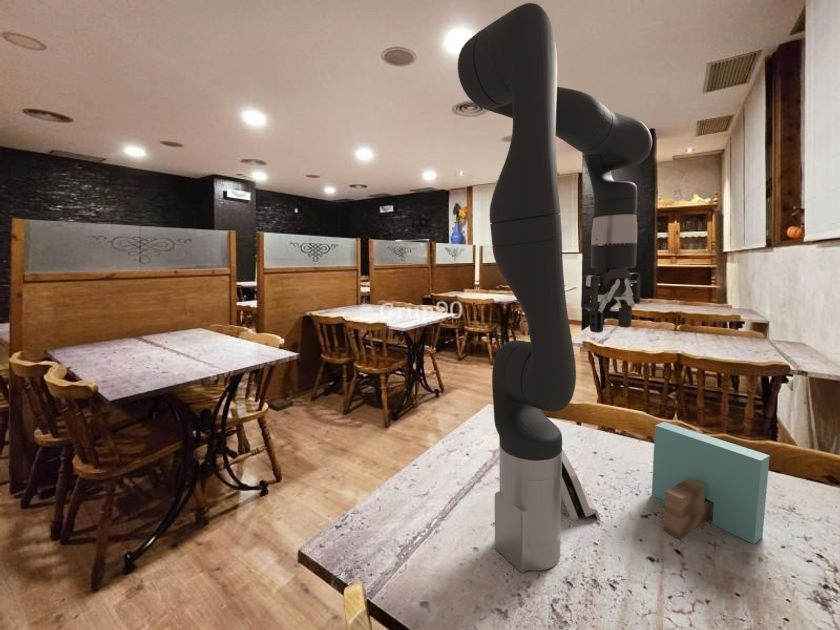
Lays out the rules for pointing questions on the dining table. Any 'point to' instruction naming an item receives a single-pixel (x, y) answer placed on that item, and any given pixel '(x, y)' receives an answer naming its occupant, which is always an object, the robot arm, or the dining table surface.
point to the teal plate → (714, 476)
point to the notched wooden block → (686, 508)
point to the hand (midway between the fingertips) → (610, 329)
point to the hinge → (574, 492)
